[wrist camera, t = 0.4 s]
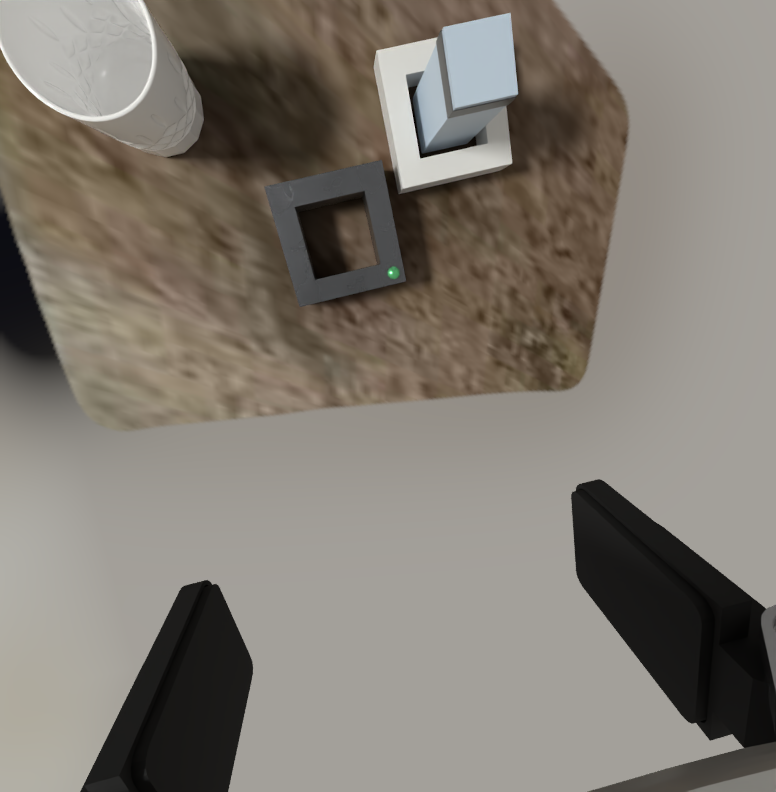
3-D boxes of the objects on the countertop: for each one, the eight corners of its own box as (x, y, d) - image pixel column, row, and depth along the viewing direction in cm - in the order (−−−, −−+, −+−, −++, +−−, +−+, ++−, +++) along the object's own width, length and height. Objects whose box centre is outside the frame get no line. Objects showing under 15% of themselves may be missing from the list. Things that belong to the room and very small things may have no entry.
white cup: (117, 21, 28) (6, -104, 19) (226, 81, 30) (175, -5, 21) (90, 134, 30) (-23, 72, 21) (194, 184, 32) (134, 148, 23)
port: (270, 193, 33) (263, 186, 30) (377, 169, 33) (381, 159, 30) (302, 303, 36) (299, 307, 33) (400, 280, 36) (406, 281, 33)
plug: (411, 98, 32) (442, 26, 22) (459, 87, 32) (511, 11, 23) (421, 154, 33) (454, 109, 24) (467, 144, 33) (518, 94, 24)
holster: (373, 67, 31) (376, 50, 29) (485, 43, 31) (497, 24, 29) (398, 194, 34) (402, 188, 32) (500, 170, 34) (512, 163, 32)
